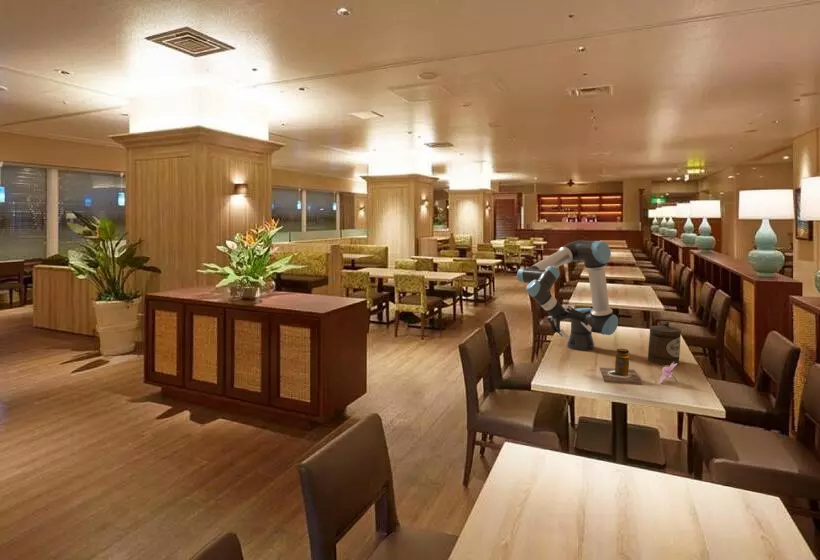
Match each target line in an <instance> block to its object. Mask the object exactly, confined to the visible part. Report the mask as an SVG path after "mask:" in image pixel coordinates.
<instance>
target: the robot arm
mask: <svg viewBox="0 0 820 560" xmlns="http://www.w3.org/2000/svg"><path fill="white" fill-rule="evenodd" d="M611 256H612V250H611V248H610V246H609V245H608V243H607V242H605V241H600V240H580V239H579V240H574V241H571V242H569V243H567V244H565V245H563V246H561V247H559V248H558V250H557V251H556V252H554V253H552V254H551V255H548V256H547V257H546V258H544V259H542V260H539V261H538V262H536V263H534V264H533V265H531V266H529V267H521V268H519V269H518V270H517V273H516V278H517V281H519V282H520V283H524V284H527V285H526V288H525V291H526V292H527V293H528V294H529V296H530V297H532V299H533V300H535V301H536V303H538V304H539V306H541V308H542V309H543V310H544V311H546V313H547V314H548V317H547V320H548V322H549V324H550V327H551V331H552V333H553V334H556V333H558V335H559V336H560V337H563V338H564V339H565V340H566V341H567V342H566V347H567V346H568V347H567V348H569V349H571V348H572V349H571V350H576V349H577V350H576V351H592V350H594V349H595V342H594V340H593V333H595V334H601V335H603V336H604V335H607V336H610V335H614V333H615V332H616V331H617V329H618V325H619V318H618V316H617V315H616V314H613V309H612V308H611V307H610V303H609V302H610V301H609V295H608V286H607V276H606V270H605V269H606V267H607V266H608V263H609V261H610V260H611ZM571 262H572V263H573V262H583V263H584V268H585V269H587V271H588V281H589V289H590V295H591V296H590V297H591V304H592V308H591V307H579V308H573V307H572V306H570V305H568V306H567V307H566V308H564V307H563V305H562V304H561V303H560V302H559V301H558V300H557V299H556V297H555V296H553V294H552V293H550V290H551V289H552V287H553V286H554V284H555V283H556V282H557V280H558V278H559V277H560V276H561V275H560V274H561V273H560V271H559V269H558V268H559V267H560V266H562V265H564V264H569V263H571ZM566 319H570V334H569V335H568V334H567V333H566V332H565V331H564V329H563V328H561V322H562V321H563V320H566ZM554 320H555V321H554ZM555 322H556V324H555Z"/></svg>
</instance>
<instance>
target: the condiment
mask: <svg viewBox="0 0 820 560" xmlns="http://www.w3.org/2000/svg"><path fill="white" fill-rule="evenodd" d="M629 353H630V352H629V350H628V349H626V348H617V349H616V354H615V365H614V368H615V372H611V373H609V374H611V375H614V376H618V377H621V378H622V377H625V376H629V375H632V374H629V373H628V372H629V369H630V354H629Z"/></svg>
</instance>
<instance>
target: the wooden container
mask: <svg viewBox="0 0 820 560" xmlns="http://www.w3.org/2000/svg"><path fill="white" fill-rule="evenodd" d="M661 324H662V325H652V326H650V328H649V338H648V340H649V341H648V350H647V351H648V352H647V361H648V362H650V363H651V364H654V365H657V364H658V366H663V365H669V366H668V367H670V365H671V364H672V363H673V362H674V364H676V363H677V364H678V365H679V364H680V355H681V336H682V330H681V328H679V327H676V326H670V325H669V324H670V322H669V321H667V320H663V321H662V322H661ZM674 364H673V365H674Z"/></svg>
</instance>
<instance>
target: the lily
mask: <svg viewBox="0 0 820 560" xmlns="http://www.w3.org/2000/svg"><path fill="white" fill-rule="evenodd" d="M673 364H674V362H673V363H672V364H671V365H670V366H664V367H662V375H661V376H660V377H659V378H658V380H659V384H662V382H664V379H666V378H669V377H672V378H674V381H675V382H676V383H677V382H678V380H677V379H676V377H675V376H674V374H673V369H674V368H675V367H676V366H677V363H676V364H674V365H673Z"/></svg>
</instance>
